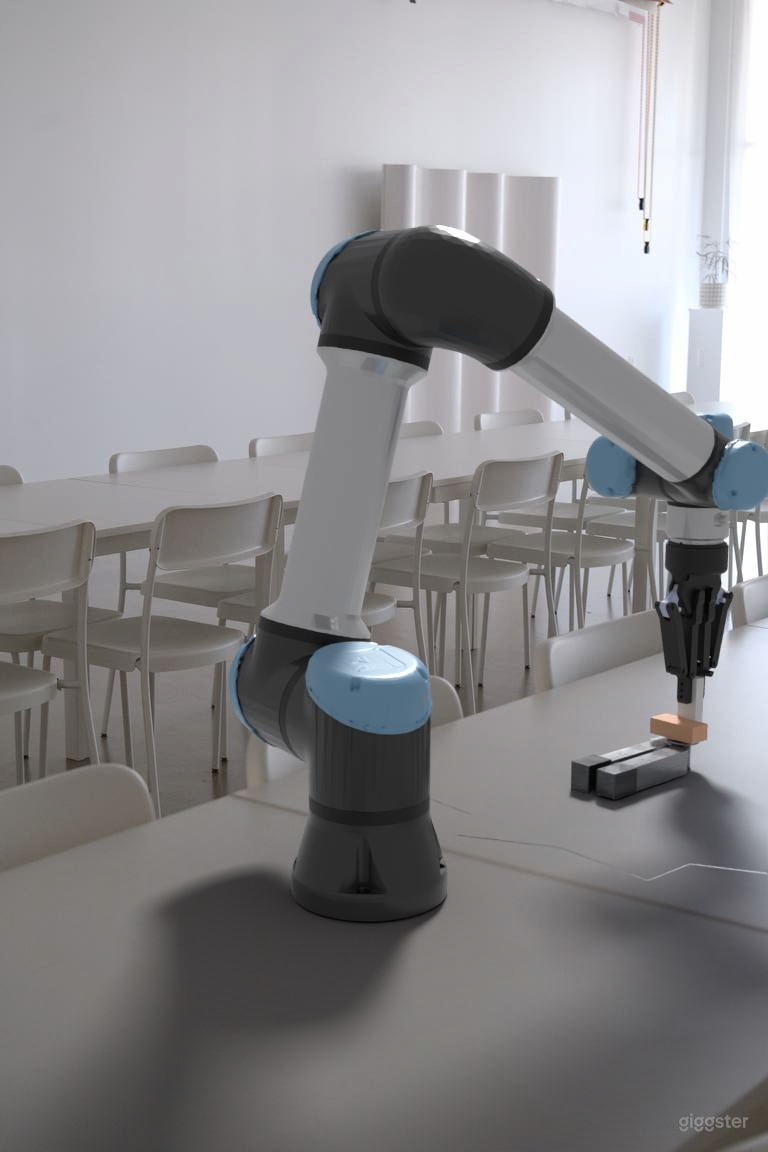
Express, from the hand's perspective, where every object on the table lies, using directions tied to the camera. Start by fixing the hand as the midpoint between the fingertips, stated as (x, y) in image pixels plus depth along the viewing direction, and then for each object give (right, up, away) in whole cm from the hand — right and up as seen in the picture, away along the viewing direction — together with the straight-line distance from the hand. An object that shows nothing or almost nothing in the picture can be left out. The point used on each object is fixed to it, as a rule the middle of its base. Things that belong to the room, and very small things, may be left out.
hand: (689, 726), depth 173 cm
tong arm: (-6, -6, -6) cm, 10 cm away
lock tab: (-2, -1, -1) cm, 2 cm away
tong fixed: (-8, -6, -5) cm, 11 cm away
